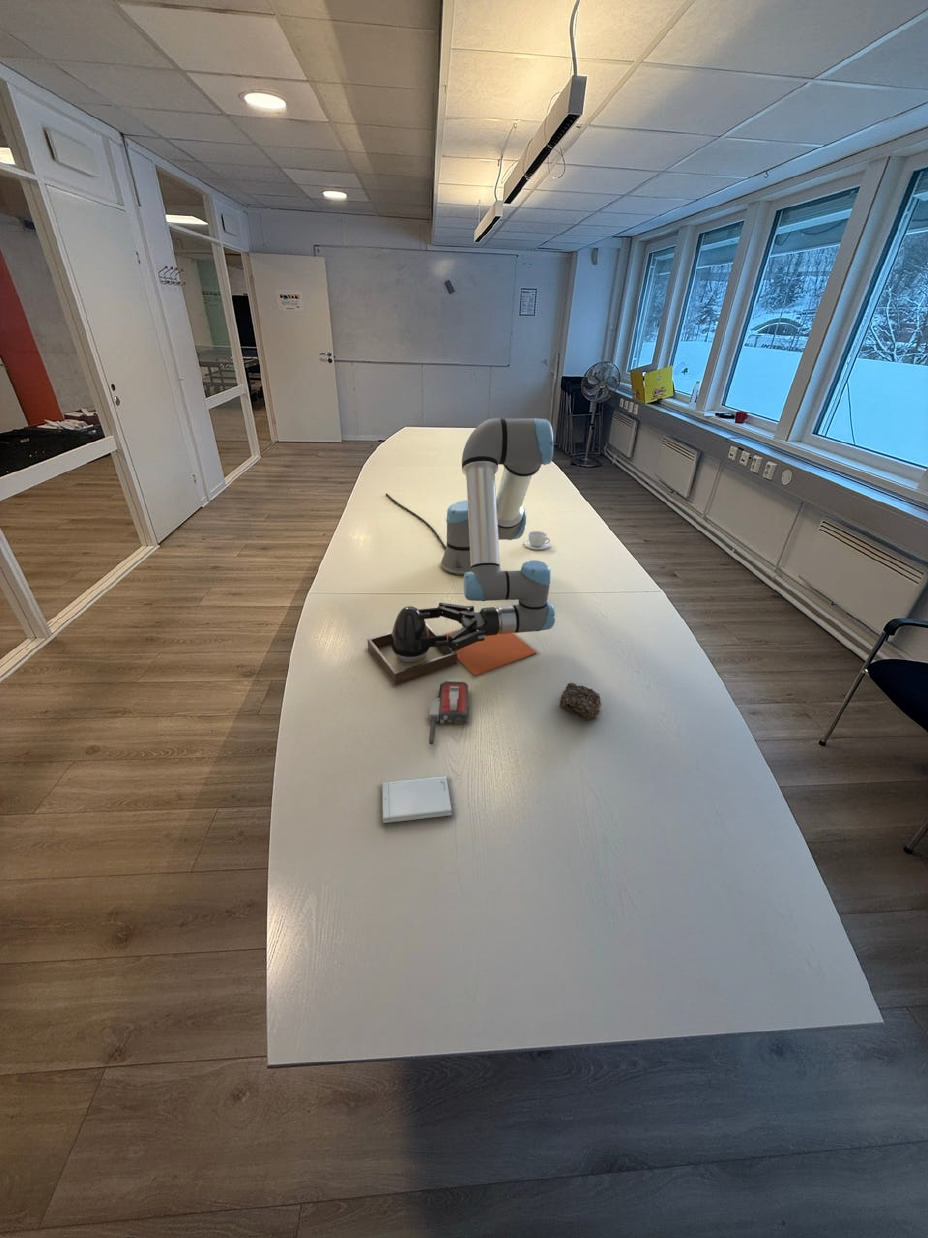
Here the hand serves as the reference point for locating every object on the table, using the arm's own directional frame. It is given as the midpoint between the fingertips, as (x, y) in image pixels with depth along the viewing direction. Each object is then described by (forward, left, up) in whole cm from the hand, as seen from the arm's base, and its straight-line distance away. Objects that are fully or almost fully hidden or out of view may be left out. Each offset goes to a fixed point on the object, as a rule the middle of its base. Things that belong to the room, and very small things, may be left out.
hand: (417, 628), depth 129 cm
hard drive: (+41, -21, -9) cm, 47 cm away
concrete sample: (+37, +24, -9) cm, 45 cm away
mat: (+5, +19, -9) cm, 21 cm away
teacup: (-44, +76, -9) cm, 88 cm away
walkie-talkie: (+24, -4, -9) cm, 26 cm away
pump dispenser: (-1, -1, -9) cm, 9 cm away
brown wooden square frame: (-1, -1, -9) cm, 9 cm away
